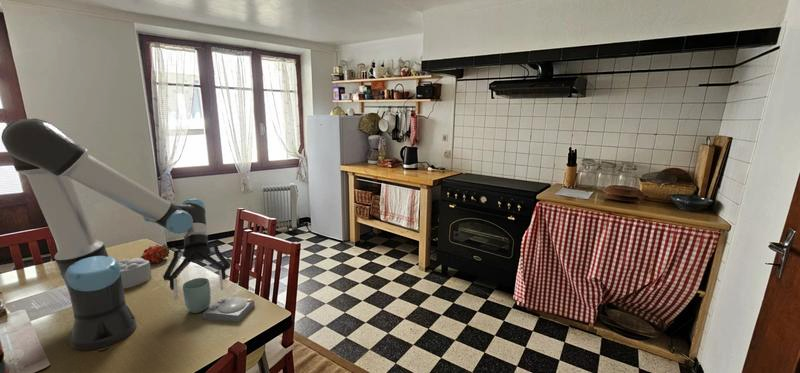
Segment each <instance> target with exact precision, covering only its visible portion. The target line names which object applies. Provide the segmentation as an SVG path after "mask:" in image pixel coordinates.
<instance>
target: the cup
mask: <svg viewBox="0 0 800 373" xmlns="http://www.w3.org/2000/svg"><path fill="white" fill-rule="evenodd" d="M211 292H212V291H211V284H210V280H209V279H208V278H206V277H197V278H193V279H191V280H188V281H186V282H184V283H183V285H182V293H183V299H184V300H183V301H184V305H185V307H186V310H187V311H189V312H190V313H193V314H198V313H202V312H205V311H206V310H207V309H208V308H209V307H210V306H211V305H210V304H211V301H212V300H211V299H212V295H211Z"/></svg>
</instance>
